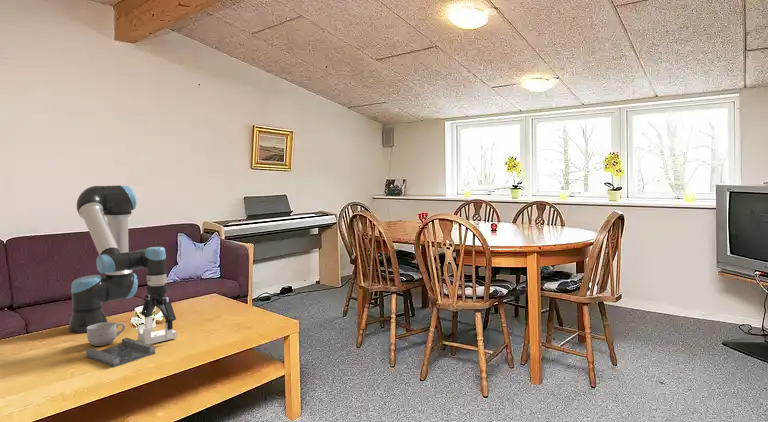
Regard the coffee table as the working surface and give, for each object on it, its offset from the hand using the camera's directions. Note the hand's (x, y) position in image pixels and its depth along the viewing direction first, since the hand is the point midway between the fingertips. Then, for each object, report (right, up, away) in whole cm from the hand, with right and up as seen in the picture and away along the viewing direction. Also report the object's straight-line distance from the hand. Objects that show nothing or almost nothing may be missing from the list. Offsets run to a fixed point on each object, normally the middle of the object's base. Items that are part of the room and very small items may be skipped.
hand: (159, 334), depth 206 cm
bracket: (-1, -3, 0) cm, 3 cm away
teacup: (-21, -3, -2) cm, 21 cm away
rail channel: (-7, -4, -17) cm, 18 cm away
